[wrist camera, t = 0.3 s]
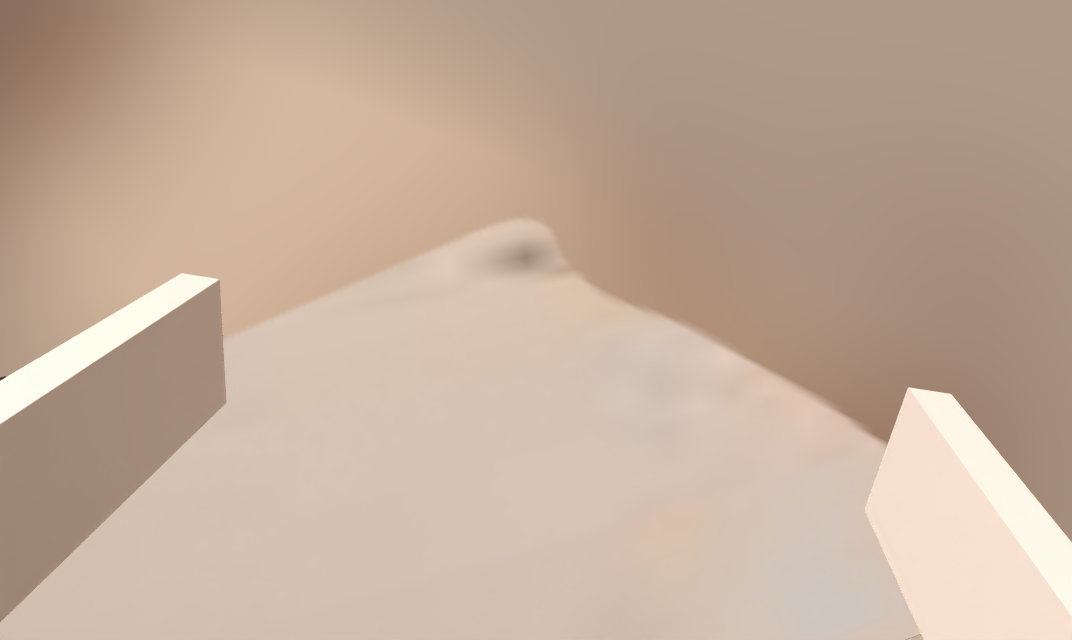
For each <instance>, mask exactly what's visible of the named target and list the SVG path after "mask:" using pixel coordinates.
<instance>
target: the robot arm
mask: <svg viewBox="0 0 1072 640" xmlns="http://www.w3.org/2000/svg"><path fill="white" fill-rule="evenodd" d="M225 403H226V389H225V371H224V352H223V334H222V317H221V299H220V280H219V279H213V278H208V277H201V276H195V275H188V274H180V275H178V276H177V277H175V278H173V279H172V280H170V281H168V282H167V283H165V284H163V285H162V286H160V287H158V288H156V289H155V290H153V291H151V292H150V293H148V294H146V295H145V296H143V297H141V298H139V299H138V300H136V301H134V302H133V303H131V304H129V305H128V306H126V307H124V308H123V309H121V310H119V311H117V312H116V313H114V314H112V315H111V316H109V317H107V318H106V319H104V320H102V321H101V322H99V323H97V324H96V325H94V326H92V327H90V328H89V329H87V330H85V331H84V332H82V333H80V334H79V335H77V336H75V337H74V338H72V339H70V340H68V341H67V342H65V343H63V344H62V345H60V346H58V347H57V348H55V349H53V350H52V351H50V352H48V353H47V354H45V355H43V356H42V357H40V358H38V359H36V360H35V361H33V362H31V363H30V364H28V365H26V366H25V367H23V368H21V369H20V370H18V371H16V372H15V373H13V374H11V375H9V376H8V377H5V376H4V377H1V378H0V622H1V621H2V620H3V619H4V618H5V617H6V616H7V615H8V614H9V613H10V612H11V611H12V610H13V609H14V608H15V607H16V606H17V605H18V604H19V603H20V602H21V601H23V600H24V599H25V598H26V597H27V596H28V595H29V594H30V593H31V592H32V591H33V590H34V589H35V588H36V587H37V586H38V585H39V584H40V583H41V582H42V581H43V580H44V579H45V578H46V577H47V576H48V575H49V574H50V573H51V572H52V571H53V570H54V569H55V568H56V567H58V566H59V565H60V564H61V563H62V562H63V561H64V560H65V559H66V558H67V557H68V556H69V555H70V554H71V553H72V552H73V551H74V550H75V549H76V548H77V547H78V546H79V545H80V544H81V543H82V542H83V541H84V540H85V539H86V538H87V537H88V536H89V535H90V534H91V533H92V532H94V531H95V530H96V529H97V528H98V527H99V526H100V525H101V524H102V523H103V522H104V521H105V520H106V519H107V518H108V517H109V516H110V515H111V514H112V513H113V512H114V511H115V510H116V509H117V508H118V507H119V506H120V505H121V504H122V503H123V502H124V501H125V500H126V499H127V498H129V497H130V496H131V495H132V494H133V493H134V492H135V491H136V490H137V489H138V488H139V487H140V486H141V485H142V484H143V483H144V482H145V481H146V480H147V479H148V478H149V477H150V476H151V475H152V474H153V473H154V472H155V471H156V470H157V469H158V468H159V467H160V466H161V465H162V464H164V463H165V462H166V461H167V460H168V459H169V458H170V457H171V456H172V455H173V454H174V453H175V452H176V451H177V450H178V449H179V448H180V447H181V446H182V445H183V444H184V443H185V442H186V441H187V440H188V439H189V438H190V437H191V436H192V435H193V434H194V433H195V432H196V431H197V430H199V429H200V428H201V427H202V426H203V425H204V424H205V423H206V422H207V421H208V420H209V419H210V418H211V417H212V416H213V415H214V414H215V413H216V412H217V411H218V410H219V409H220V408H221V407H222V406H223V405H224V404H225ZM865 512H866V514H867V516H868V518H869V521H870V523H871V525H872V527H873V529H874V532H875V534H876V536H877V538H878V540H879V543H880V545H881V547H882V549H883V551H884V554H885V556H886V558H887V560H888V562H889V565H890V567H891V569H892V571H893V573H894V576H895V578H896V580H897V582H898V584H899V587H900V589H901V591H902V593H903V595H904V598H905V600H906V602H907V604H908V606H909V609H910V611H911V613H912V615H913V617H914V620H915V622H916V624H917V626H918V628H919V631H920V633H921V635H922V637H923V639H924V640H1072V543H1071V541H1070V540H1069V539H1068V538H1067V537H1066V535H1065V534H1064V533H1063V531H1062V530H1061V529H1060V528H1059V527H1058V525H1057V524H1056V523H1055V522H1054V520H1052V518H1051V517H1050V515H1049V514H1048V513H1047V512H1046V511H1045V509H1044V508H1043V507H1042V506H1041V504H1040V503H1039V502H1038V501H1037V499H1036V498H1035V497H1034V496H1033V494H1032V493H1031V492H1030V491H1029V490H1028V488H1027V487H1026V486H1025V485H1024V484H1023V482H1022V481H1021V480H1020V478H1019V477H1018V476H1017V475H1016V473H1015V472H1014V471H1013V470H1012V469H1011V467H1010V466H1009V465H1008V464H1007V462H1006V461H1005V460H1004V459H1003V458H1002V457H1001V455H1000V454H999V453H998V452H997V450H996V449H995V448H994V446H993V445H992V444H991V443H990V441H989V440H988V439H987V438H986V437H985V435H984V434H983V433H982V432H981V430H980V429H979V428H978V427H977V425H976V424H975V423H974V422H973V421H972V419H971V418H970V417H969V416H968V414H966V412H965V411H964V409H963V408H962V407H961V406H960V405H959V404H958V402H957V401H956V400H955V398H954V397H953V396H952V395H951V394H947V393H939V392H934V391H927V390H921V389H914V388H908V390H907V392H906V395H905V398H904V401H903V404H902V407H901V409H900V412H899V415H898V418H897V421H896V423H895V426H894V429H893V432H892V434H891V437H890V440H889V443H888V446H887V448H886V451H885V454H884V457H883V460H882V463H881V465H880V468H879V471H878V474H877V477H876V479H875V482H874V485H873V488H872V491H871V493H870V496H869V499H868V502H867V505H866V507H865Z"/></svg>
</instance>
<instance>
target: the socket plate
mask: <svg viewBox="0 0 1072 640" xmlns="http://www.w3.org/2000/svg"><path fill="white" fill-rule="evenodd" d="M906 640H924V639H923V637H922V635H921V634H920V635H917V636H914V637H911V638H909V639H906Z"/></svg>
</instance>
